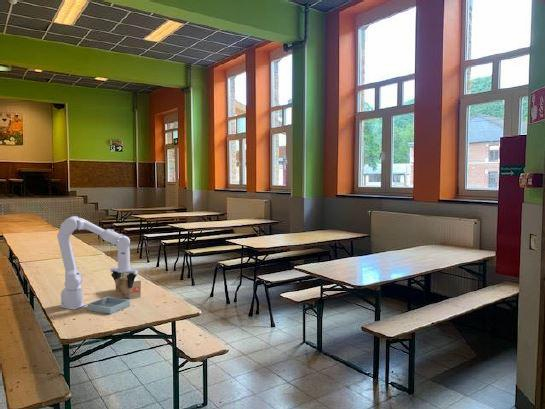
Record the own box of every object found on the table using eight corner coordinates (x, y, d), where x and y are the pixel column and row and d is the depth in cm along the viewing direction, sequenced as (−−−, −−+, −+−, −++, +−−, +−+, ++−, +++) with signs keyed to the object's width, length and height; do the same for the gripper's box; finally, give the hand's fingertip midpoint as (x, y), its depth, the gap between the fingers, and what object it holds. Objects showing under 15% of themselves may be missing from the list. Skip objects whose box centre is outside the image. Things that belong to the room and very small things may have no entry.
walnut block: (115, 290, 208) (115, 279, 207) (124, 288, 213) (124, 276, 213) (124, 292, 205) (123, 280, 205) (133, 289, 210) (132, 278, 210)
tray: (87, 310, 199) (87, 304, 199) (107, 302, 211) (107, 296, 211) (110, 314, 194) (110, 308, 194) (129, 306, 206) (129, 300, 206)
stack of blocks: (141, 297, 220) (140, 274, 219) (129, 299, 217) (128, 276, 215) (128, 287, 238) (128, 266, 236) (117, 289, 234) (117, 267, 233)
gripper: (106, 261, 206) (106, 287, 207) (131, 263, 202) (132, 290, 203) (115, 258, 213) (115, 284, 214) (140, 260, 209) (140, 286, 210)
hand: (124, 287), depth 209 cm, fingers closed on walnut block, 6 cm apart
